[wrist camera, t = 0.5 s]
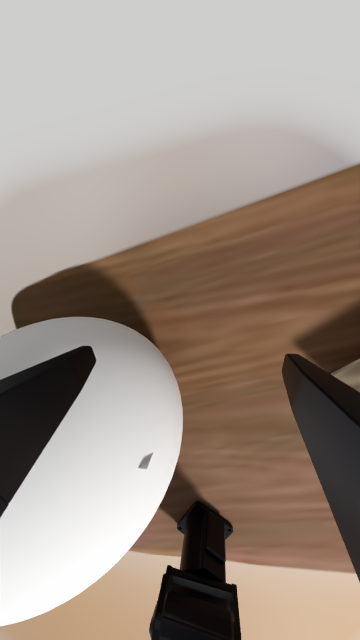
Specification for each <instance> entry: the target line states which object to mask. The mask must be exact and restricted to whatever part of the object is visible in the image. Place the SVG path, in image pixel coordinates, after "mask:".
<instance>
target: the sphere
mask: <svg viewBox="0 0 360 640" xmlns="http://www.w3.org/2000/svg"><path fill="white" fill-rule="evenodd" d="M80 346H91V347H92V349H93V352H94V354H95V357H96V364H95V366H94V368H93V370H92V371H91V373H90V375H89V377H88V379H87V381H86V383H85V385H84V387H83V389H82V390H81V392H80V394H79V395H78V397H77V398H76V400H75V402H74V403H73V405H72V406H71V408H70V409H69V411H68V413H67V414H66V416H65V417H64V419H63V420H62V422H61V423H60V425H59V427H58V428H57V430H56V431H55V433H54V434H53V436H52V438H51V439H50V441H49V442H48V444H47V445H46V447H45V448H44V450H43V452H42V453H41V455H40V456H39V458H38V459H37V461H36V463H35V464H34V466H33V467H32V469H31V470H30V472H29V473H28V475H27V477H26V478H25V480H24V481H23V483H22V484H21V486H20V488H19V489H18V491H17V492H16V494H15V495H14V497H13V498H12V500H11V502H10V503H9V505H8V507H7V508H6V510H5V511H4V513H3V514H2V516H1V518H0V626H4V625H8V624H13V623H17V622H21V621H23V620H27V619H30V618H32V617H35V616H38V615H40V614H43V613H45V612H47V611H49V610H51V609H53V608H55V607H57V606H58V605H61V604H62V603H65V602H67V601H68V600H70V599H71V598H73V597H75V596H76V595H77V594H79V593H81V592H82V591H83V590H85V589H86V588H87V587H89V586H90V585H92V584H93V583H94V582H96V581H97V580H98V579H99V578H100V577H102V576H103V575H104V574H105V573H106V572H107V571H108V570H109V569H111V568H112V567H113V566H114V565H115V564H116V563H117V562H118V561H119V560H120V559H121V558H122V557H123V556H124V554H125V553H126V552H127V551H128V550H129V549H130V548H131V547H132V545H133V544H134V543H135V541H136V540H137V539H138V537H139V536H140V535H141V534H142V532H143V531H144V530H145V528H146V527H147V525H148V524H149V522H150V521H151V519H152V518H153V516H154V514H155V512H156V511H157V509H158V507H159V505H160V503H161V502H162V500H163V498H164V495H165V493H166V491H167V488H168V486H169V484H170V481H171V479H172V477H173V473H174V470H175V467H176V463H177V460H178V456H179V452H180V446H181V439H182V431H183V409H182V402H181V396H180V391H179V388H178V384H177V381H176V379H175V376H174V374H173V371H172V369H171V367H170V365H169V363H168V362H167V360H166V359H165V357H164V356H163V355H162V353H161V352H160V351H159V350H158V349H157V347H156V346H155V345H154V344H153V343H152V342H150V341H149V340H148V339H147V338H146V337H144V336H143V335H141V334H140V333H138V332H137V331H135V330H133V329H131V328H129V327H127V326H125V325H122V324H120V323H117V322H113V321H110V320H106V319H100V318H93V317H65V318H57V319H51V320H46V321H42V322H38V323H34V324H31V325H28V326H25V327H22V328H19V329H16V330H14V331H12V332H10V333H8V334H5V335H3V336H1V337H0V380H1V379H3V378H6V377H8V376H10V375H13V374H15V373H18V372H20V371H22V370H25V369H27V368H30V367H32V366H34V365H37V364H39V363H42V362H44V361H47V360H49V359H51V358H54V357H56V356H59V355H61V354H63V353H66V352H68V351H71V350H73V349H75V348H78V347H80Z"/></svg>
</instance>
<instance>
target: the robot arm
mask: <svg viewBox="0 0 360 640" xmlns="http://www.w3.org/2000/svg"><path fill="white" fill-rule="evenodd" d="M95 364H96V357H95V354H94V352H93V349H92V347H91V346H80V347H78V348H75V349H73V350H71V351H68V352H66V353H63V354H61V355H59V356H56V357H54V358H51V359H49V360H47V361H44V362H42V363H39V364H37V365H34V366H32V367H30V368H27V369H25V370H22V371H20V372H18V373H15V374H13V375H10V376H8V377H6V378H3V379H1V380H0V518H1V516H2V514H3V513H4V511H5V510H6V508H7V507H8V505H9V503H10V502H11V500H12V498H13V497H14V495H15V494H16V492H17V491H18V489H19V488H20V486H21V484H22V483H23V481H24V480H25V478H26V477H27V475H28V473H29V472H30V470H31V469H32V467H33V466H34V464H35V463H36V461H37V459H38V458H39V456H40V455H41V453H42V452H43V450H44V448H45V447H46V445H47V444H48V442H49V441H50V439H51V438H52V436H53V434H54V433H55V431H56V430H57V428H58V427H59V425H60V423H61V422H62V420H63V419H64V417H65V416H66V414H67V413H68V411H69V409H70V408H71V406H72V405H73V403H74V402H75V400H76V398H77V397H78V395H79V394H80V392H81V390H82V389H83V387H84V385H85V383H86V381H87V379H88V377H89V375H90V373H91V371H92V370H93V368H94V366H95ZM282 375H283V379H284V383H285V386H286V390H287V394H288V398H289V401H290V405H291V408H292V412H293V414H294V417H295V420H296V422H297V425H298V427H299V430H300V432H301V435H302V437H303V440H304V442H305V445H306V447H307V450H308V452H309V455H310V458H311V460H312V463H313V465H314V468H315V470H316V473H317V475H318V478H319V480H320V483H321V485H322V488H323V490H324V493H325V495H326V498H327V500H328V503H329V506H330V508H331V511H332V513H333V516H334V518H335V521H336V523H337V526H338V528H339V531H340V533H341V536H342V538H343V541H344V543H345V546H346V549H347V551H348V554H349V556H350V559H351V561H352V564H353V566H354V569H355V571H356V574H357V576H358V579H359V581H360V392H359V391H357V390H355V389H354V388H352V387H351V386H349V385H347V384H346V383H344V382H342V381H341V380H339V379H338V378H336V377H334V376H333V375H331V374H329V373H328V372H326V371H325V370H323V369H321V368H320V367H318V366H316V365H315V364H313V363H312V362H310V361H308V360H307V359H305V358H304V357H302V356H300V355H299V354H286V355H285V358H284V363H283V367H282ZM177 529H178V530H179V531H180V532H182V533H183V534H184V541H183V548H182V556H181V564H180V570H179V569H176V568H173V567H172V566H170V565H168V566H167V570H166V574H164V575H163V578H162V583H161V589H160V593H159V597H158V601H157V604H156V607H155V610H154V613H153V617H152V619H151V623H150V629H149V633H150V636H151V640H241V632H240V619H239V608H238V598H237V586H236V585H235V584H232V585H231V584H227V583H226V576H225V575H226V574H225V561H226V554H225V540H226V539H227V538H228V536H229V535H230V534H231V533H232V532H233V527H232V525H231V524H229V523H228V522H226V521H225V520H224V519H222V518H221V517H219V516H218V515H217V514H215V513H214V512H212V511H211V510H210V509H208V508H207V507H205V506H204V505H203V504H201V503H200V502H195V503H194V504H193V506H192V507H191V508H190V509H189V510H188V512H187V513H186V514H185V515H184V517H183V518H182V519H181V520H180V521H179V523H178V524H177Z"/></svg>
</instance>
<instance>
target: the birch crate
mask: <svg viewBox="0 0 360 640" xmlns="http://www.w3.org/2000/svg"><path fill="white" fill-rule="evenodd" d="M331 374H332V375H333V376H334V377H336V378H338V379H339V380H341V381H342V382H344V383H346V384H347V385H349V386H351V387H352V388H354V389H355V390H357V391H359V392H360V359H358V360H356V361H354V362H352V363H350V364H348V365H346V366H344V367H342V368H340V369H338V370H336V371H334V372H332V373H331Z"/></svg>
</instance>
